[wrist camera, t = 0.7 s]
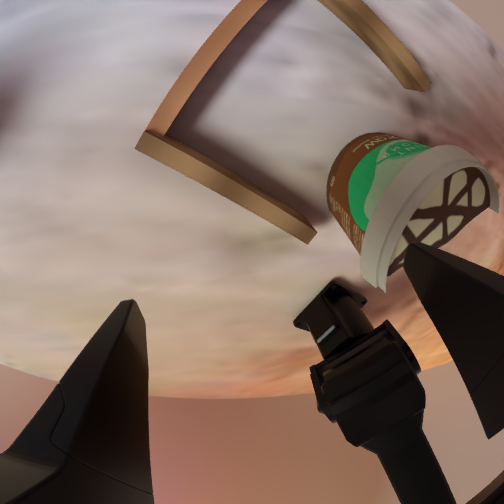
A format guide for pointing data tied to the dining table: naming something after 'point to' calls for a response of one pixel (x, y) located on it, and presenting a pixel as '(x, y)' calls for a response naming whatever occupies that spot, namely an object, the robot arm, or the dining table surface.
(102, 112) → the dining table surface
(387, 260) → the food container
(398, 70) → the bay
